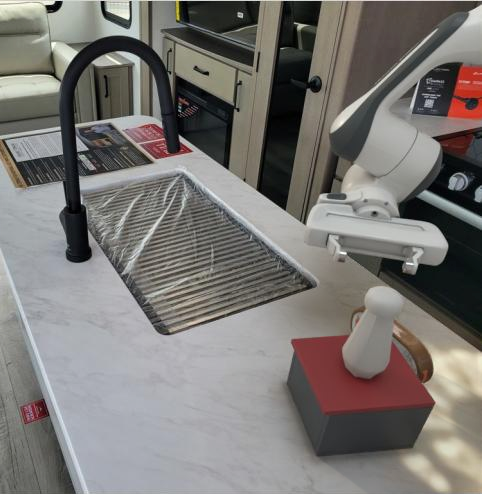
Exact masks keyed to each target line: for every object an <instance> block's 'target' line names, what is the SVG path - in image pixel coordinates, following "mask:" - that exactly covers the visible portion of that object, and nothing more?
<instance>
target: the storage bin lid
mask: <svg viewBox="0 0 482 494" xmlns="http://www.w3.org/2000/svg"><path fill="white" fill-rule="evenodd" d="M350 335H351V334H343V335H330V336H329V335H327V336H315V337H314V336H313V337H301V338H291V341H290V345H291V346H292V349H293V352H294V351H295V353H296V355H297V358H298V360H299V362H300V364H301V366H302V369H303V371H304V373H305V375H306V377H307V379H308V382H309V384H310V386H311V388H312V390H313V393H314V395H315V397H316V399H317V401H318V404H319V406H320V408H321V410H322V412H323V415H324V416H328V415H340V414H352V413H364V412H376V411H388V410H400V409H411V408H423V407H433V408H434V407H435V405H436V403H437V402H436V400H435V399H434V398H433V396H432V395H431V393H430V392H429V391H428V389H427V388H426V386H425V385H424V383H422V382H421V381H420V379H419V378H418V376H417V375H416V374H415V372H414V371H413V369H412V368H411V367H410V365H409V364H408V362H407V361H406V359H405V358H404V357H403V355H402V354H401V352H400V351H399V349H398V348H397V347H396V345H395V344H394V342H393V341H392V343H391V352H390V361H389V363H388V365H387V367H386V369H385V370H384V371H382V372H380V373H378V374H376V375H375V376H373V377H372V378H371V379H366V378H360V377H355V376H354V375H353V374H352V373H351V372H350V371H349V370H348V369H347V368H346V367H345V363H344V359H343V353H342V348H343V346H344V344H345V343H346V341H347V340H348V338H349V336H350Z"/></svg>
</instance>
